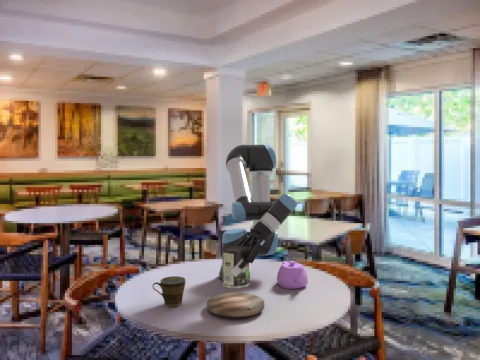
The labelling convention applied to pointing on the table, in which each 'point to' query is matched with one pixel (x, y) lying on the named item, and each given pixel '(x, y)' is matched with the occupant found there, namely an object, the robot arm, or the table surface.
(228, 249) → the coffee can
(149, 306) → the table surface
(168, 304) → the ceramic cup
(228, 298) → the turntable
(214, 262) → the table surface
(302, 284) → the teapot
